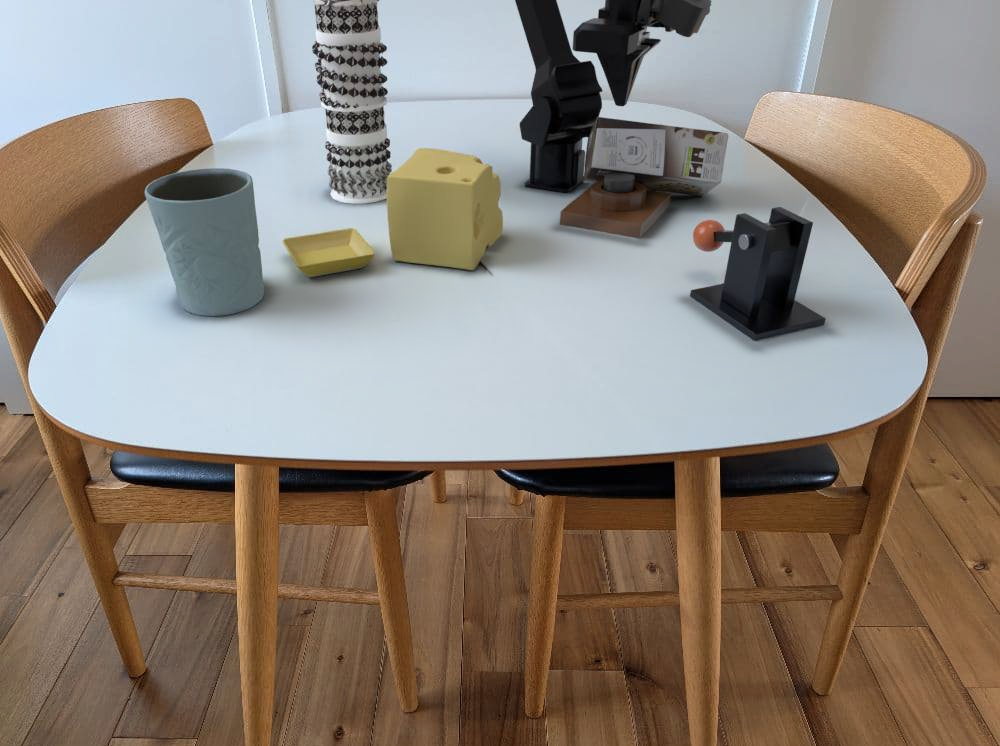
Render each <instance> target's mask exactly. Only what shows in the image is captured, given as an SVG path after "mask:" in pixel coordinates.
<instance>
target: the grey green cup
mask: <svg viewBox="0 0 1000 746" xmlns="http://www.w3.org/2000/svg"><path fill="white" fill-rule="evenodd" d="M144 196H145V198H146V203H147V205H148V208H149V211H150V214H151V217H152V220H153V223H154V226H155V227H156V230H157V234H158V237H159V240H160V244H161V246H162V249H163V252H164V253H165V256H166V257H165V258H166V261H167V265H168V268H169V271H170V274H171V277H172V279H173V283H174V286H175V291H176V295H177V298H178V302H179V304H180V306H181V307H182V309H183V310H184V311H185V312H187V313H190V314H193V315H196V316H204V317H221V316H222V317H223V316H229V315H233V314H238V313H241V312H243V311H247V310H249V309H250V308H253V307H255V306H256V305H257V304H259V303H260V302H261V301H262V299H263V298H264V295H265V283H264V277H263V265H262V255H261V250H260V247H259V246H260V245H259V243H260V237H259V226H258V225H259V224H258V218H257V217H258V216H257V211H256V200H255V199H256V198H255V190H254V181H253V177H252V176H251V175H250V174H249V173H248V172H246V171H243V170H239V169H233V168H223V167H222V168H220V167H218V168H217V167H216V168H215V167H211V168H210V167H209V168H197V169H189V170H184V171H178V172H174V173H171V174H167V175H164V176H161V177H158V178H157V179H154V180H152V181H151V182H150V183H148V184H147V185H146V187H145V189H144Z"/></svg>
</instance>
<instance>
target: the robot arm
mask: <svg viewBox="0 0 1000 746" xmlns="http://www.w3.org/2000/svg"><path fill="white" fill-rule="evenodd" d="M514 2H515V5H516V8H517V12H518V15H519V19H520V23H521V25H522V28H523V31H524V35H525V39H526V41H527V45H528V48H529V52H530V55H531V58H532V61H533V65H534V69H535V72H534V76H533V81H532V86H531V90H530V97H531V102H532V106H531V108H530V109H529V111H528V112H526V114H525V115H524V116H523V118H522V119H521V120H520V121H519V130H520V137H521V139H522V141H525V142H528V143H530V155H529V157H530V158H529V159H530V160H529V179H527V180H526V181H524V187H526V188H533V189H540V190H547V191H550V192H551V191H552V192H557V193H566V194H567V193H570V192H571V191H572V190H573V189H575V188H576V187H577V186H579V185H580V184H581V183H583V179H584V172H585V158H586V151H585V149H583V139H585V138H588V136H589V134H590V132H591V129H592V127H593V125H594V123H595V121H596V119H597V117H598V116H599V117H600V114H601V111H602V109H603V101H602V95H601V93H603V88H602V87H601V85H600V83H599V80H598V76H597V72H596V66H595V65H594V63H593V62H592V60H586V61H580V60H579V59H578V58H577V57H576V56H575V55H574V53H573V51H574V52H579V53H580V52H581V53H588V54H589V53H590V54H596V56H597V59H598V61H599V63H600V65H601V68H602V70H603V73H604V76H605V79H606V82H607V85H608V88H609V90H610V93H611V97H612V99H613V102H614V104H615V106H617V107H624V106H627V104H628V101H629V98H630V96H631V93H632V90H633V86H634V85H635V81H636V80H637V79H636V78H637V75H638V73H639V71H640V69H641V65H642V62H643V60H644V58H645V56H646V55H647V54H648V53H649V52H651V51H652V50H653V49H654V48H655V47H656V46H658V45H659V44H660V43H661V41H662V39H660V38H652V37H650V34H651V32H650V31H648V28H657V29H658V28H663V29H664V30H665V32H666V33H671V32H673V31H675V33H676V34H678V35H679V36H682V37H685V38H690V37H692V36H693V35H694V34H697V33H698V32H699V30H700V28H701V27H702V24H703V23H704V20H705V18H706V16H708V15H709V14H710V12H711V6H712V2H713V1H712V0H604V6H603V7H601V8H599V9H598V13H597V17H593V18H590V19H588V20H586V21H583V22H582V23H580V24H579V25H578V26H577V27H576V29H574V30H573V36H572V48H571V44H570V41H569V38H568V34H567V31H566V27H565V24H564V21H563V18H562V14H561V11H560V7H559V4H558V0H514Z"/></svg>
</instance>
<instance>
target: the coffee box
mask: <svg viewBox="0 0 1000 746" xmlns="http://www.w3.org/2000/svg"><path fill="white" fill-rule="evenodd" d="M728 140H729V133H728V132H722V131H716V130H715V131H714V130H708V129H707V130H706V129H699V128H698V129H697V128H688V127H682V126H674V125H665V124H658V123H651V122H650V123H649V122H641V121H636V120H635V121H633V120H626V119H617V118H609V117H602V116H600V115H599V116H598V117H597V119H596V121H595V123H594V125H593V127H592V129H591V132H590V134H589V136H588V137H587V143H586V148H585V149H586V151H585V163H584V179H583V181H582V183H584V184H590V185H593V184H594V183H595V182H597V181H601V180H604V176H605V175H606V174H608V173H613V172H623V173H628V174H631V175H633V176H634V177H635V179H634V181H635V182H637V183H640V184H642V185H644V187H645V188H646V190H652V191H659V192H666V193H671V194H678V195H679V194H680V195H689V196H696V197H703V196H705V195H706V194H708V193H709V192H711V191H712V190H713V189H714V188H716V187H717V186H718V185H720V184H721V182H722V178H723V171H724V166H725V165H724V164H725V158H726V153H727V145H728Z"/></svg>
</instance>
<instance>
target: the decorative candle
mask: <svg viewBox="0 0 1000 746" xmlns="http://www.w3.org/2000/svg"><path fill="white" fill-rule="evenodd" d="M378 3H380V0H313V1H312V2H311V4H313V5H314V15H315V22H316V29H315V41H314V43H313V44H312V46H311V50H312V51H311V52H312V53H313V54H314V55H315V56H316V57H317V58H318V59H317V60H316V62H315V63H314V67H315V71H316V72H317V73H318V74H317V76H316V83H317V85H319V86H320V88H321V91H320V92H319V95H318V96H319V100H320V106H321V107H322V108H323V109H324V110H325V120H326V127H325V135H326V141H325V145H324V147H325V149H326V150H327V151H328V153H326V161H327V162H329V163H330V164H329V165H328V167H327V175H328V176H329V181H328V186H329V187H330V188H331V190H330V197H331V198H332V199H333V200H335V201H337V202H340V203H345V204H353V205H355V204H359V205H360V204H371V203H376V202H380V201H383V200H387V177H388V175H390V174H391V173H392V172H393V169H392V167H393V165H392V164H391V163H390V162H389V161H388V160H389V159H391V150H389V149H388V148H389V147H390V145H391V140H390V138H388V127H387V124H386V121H385V116H386V115H385V110H384V109H385V107H384V106H386V105H387V103H388V98H387V97H386V95H388V93H389V92H388V91H389V90H388V89H387V88H386V87H384V86H383V85H384V84H385V83H386V82H387V81H388V77H387V75H385V74H384V73H383V72H382V71H381V70H382V69H381V67H382V68H384V66H386V65H387V64H388V60H387V59H386V58H385V57H384V56H383V55H381V54H383V53H385V52H387V50H388V47H387V46H386V44H384V43H383V42H382V41H381V40H382V34H381V33H382V31H381V26H379V12H378Z"/></svg>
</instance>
